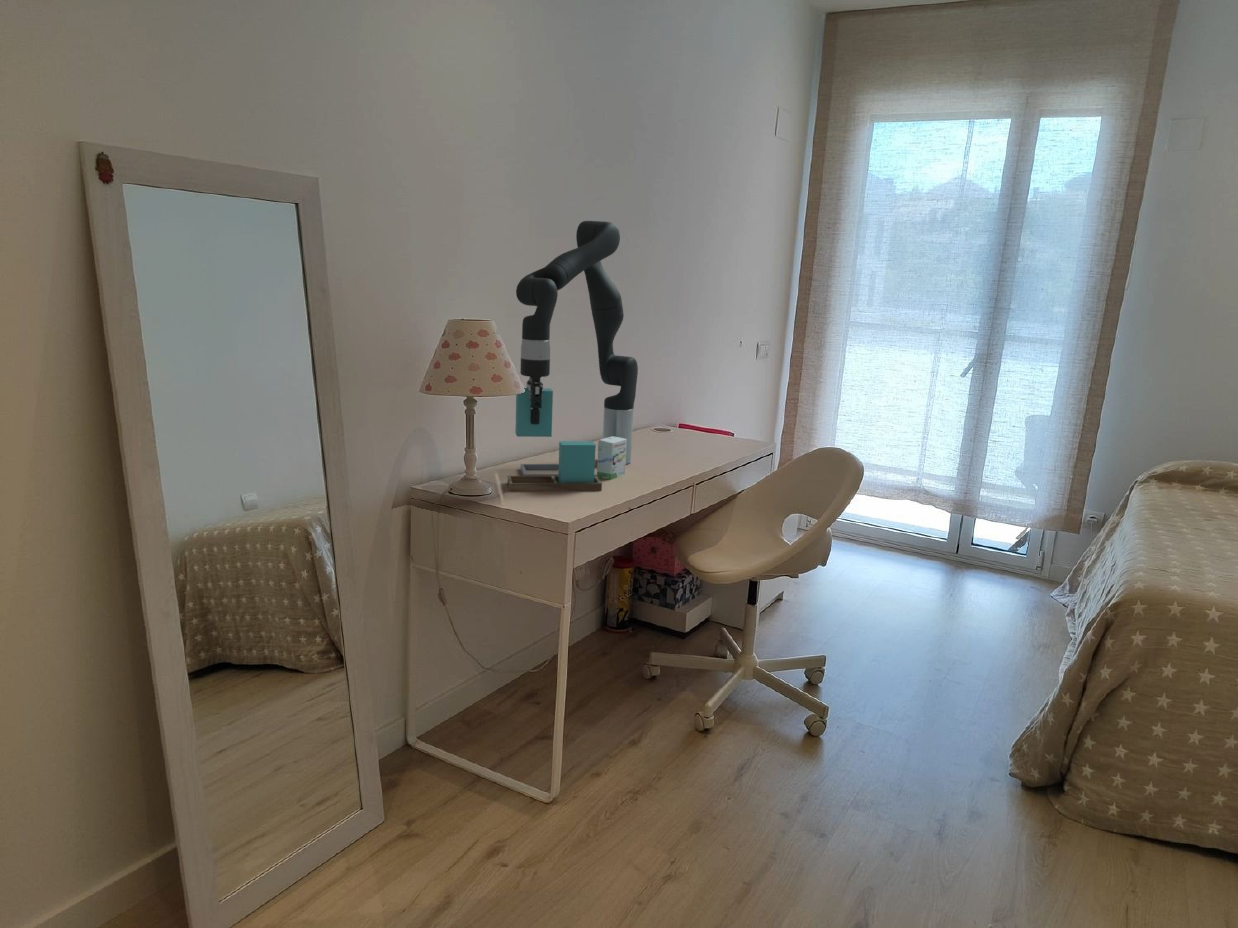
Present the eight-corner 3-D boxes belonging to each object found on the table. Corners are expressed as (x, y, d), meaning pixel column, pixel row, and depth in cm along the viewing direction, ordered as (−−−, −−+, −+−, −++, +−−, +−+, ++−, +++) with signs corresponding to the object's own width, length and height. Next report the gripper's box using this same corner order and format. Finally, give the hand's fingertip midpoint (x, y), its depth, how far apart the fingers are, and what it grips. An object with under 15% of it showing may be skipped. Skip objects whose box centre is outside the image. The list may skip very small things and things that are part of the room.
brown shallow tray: (507, 486, 217) (507, 475, 216) (595, 485, 222) (596, 475, 221) (509, 494, 209) (509, 483, 208) (601, 494, 214) (601, 483, 213)
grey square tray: (520, 472, 233) (520, 464, 232) (570, 472, 236) (570, 464, 235) (524, 483, 221) (524, 474, 220) (576, 482, 224) (576, 474, 223)
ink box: (610, 483, 226) (612, 442, 223) (595, 480, 228) (597, 440, 225) (625, 477, 233) (627, 438, 230) (611, 475, 235) (612, 435, 233)
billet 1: (515, 432, 212) (516, 387, 209) (549, 433, 214) (550, 388, 211) (516, 436, 207) (517, 390, 205) (551, 436, 209) (552, 391, 206)
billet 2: (558, 484, 218) (559, 441, 215) (590, 484, 219) (592, 441, 217) (560, 489, 213) (561, 445, 210) (593, 488, 215) (595, 445, 212)
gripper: (553, 360, 200) (551, 427, 204) (546, 354, 214) (544, 417, 217) (523, 359, 198) (521, 427, 202) (518, 354, 212) (517, 417, 216)
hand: (533, 421), depth 210 cm, fingers closed on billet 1, 5 cm apart
